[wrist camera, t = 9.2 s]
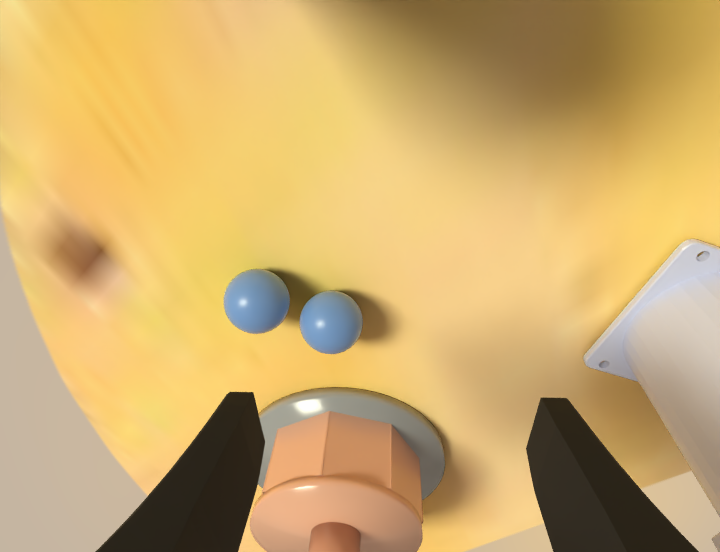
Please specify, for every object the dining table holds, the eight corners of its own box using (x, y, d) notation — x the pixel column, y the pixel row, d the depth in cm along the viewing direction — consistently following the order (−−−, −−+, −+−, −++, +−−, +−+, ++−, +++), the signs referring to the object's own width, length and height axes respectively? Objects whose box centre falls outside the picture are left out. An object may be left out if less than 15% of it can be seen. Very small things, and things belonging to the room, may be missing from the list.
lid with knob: (439, 430, 27) (456, 582, 20) (392, 511, 32) (393, 652, 26) (280, 396, 26) (243, 544, 19) (259, 486, 31) (224, 625, 25)
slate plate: (478, 419, 27) (480, 430, 27) (400, 521, 34) (401, 532, 34) (268, 363, 25) (264, 374, 25) (232, 483, 33) (229, 494, 32)
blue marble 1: (301, 267, 22) (290, 306, 19) (287, 313, 23) (275, 354, 21) (239, 248, 21) (220, 286, 19) (229, 296, 23) (210, 337, 20)
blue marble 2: (372, 288, 22) (370, 329, 20) (353, 331, 24) (349, 374, 21) (313, 271, 22) (303, 310, 19) (298, 316, 23) (288, 357, 21)
